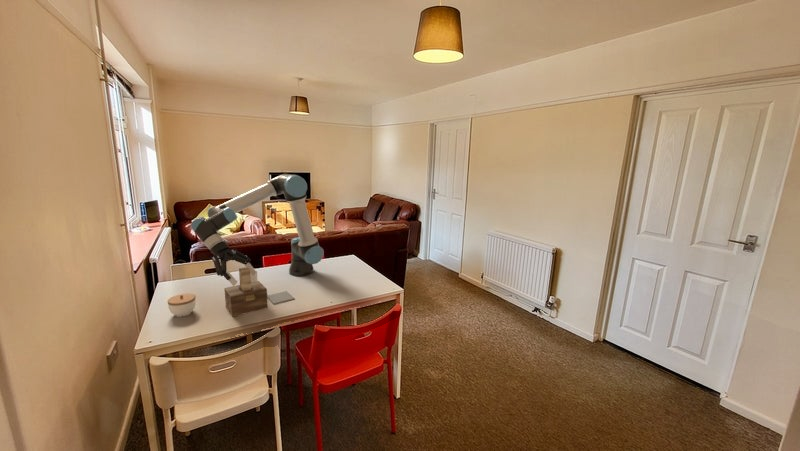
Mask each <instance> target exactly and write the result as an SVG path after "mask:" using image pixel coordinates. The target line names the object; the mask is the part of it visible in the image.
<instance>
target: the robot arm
mask: <svg viewBox="0 0 800 451" xmlns="http://www.w3.org/2000/svg"><path fill="white" fill-rule="evenodd" d="M307 191H308V183H307V182H306V180H305V178H303V177H302V176H300V175H298V174H290V173H282V174H279V175H278V176H275V177H273V178H271V179H269V180H267V181H266V182H265V184H262V185H260V186H258V187H256V188H254V189H252V190H249V191H247V192H245V193H243V194H239V195H238V196H237V197H234V198H232V199H230V200H228V201H226V202H224V203H221V204H218V205H214V206H213V205H212V206H211V207H209V208H208V209H207V213H206V214H207V216H208V217H207V218H206V217H204V216H199V217H197V218H195V219H194V220H192V222H191V223H190V226H189V227H190V229H192V231H193V232H194V234H195V235H196V236H197V237H198V238H199V239H200V240H201V242H202V243H203V244H204V245H205V246H206V248H207V249H209V250H210V253H211V254H213V257H211V260H212V262H213V264H214V269H215V272H216V275H217V276H218V277H219V276H220V277H224V279H226V281H228V282H229V283H230V284H231V285H232V286H236V284H237V283H238V281H237V280H236V278H235V277H234V276H233V274H232V273H230V271H228V270H227V269H228V268H227V263H228V262H229V261H235V262H237V263H240V264H243V265H244V268H245V267H248V268H249V269H250V273H251V274H252V275H253V276H254V275H255V274H256V273H257V274H258V271H257V269H256V268H254V266H253V265H252V264H251V260H252V259H251V258H250V257H249V256H247V255H245V254H243V253H242V252H241V251H239V250H238V249H237V248H236V247H234V248H232V249H230V246H229V244H228V243H227V242H226V241H225V240H224V238H222V236H221V235H220V234H219V232H218V231H220V230H222V229H223V228H225V227H227V226H228V225H230V224H232V223H233V222H235V221H236V220H237V219H238V216H237V213H239V212H241V211H244V210H245V209H248V208H249V207H252V206H254V205H256V204H258V203H261V202H263V201H265V200H267V199H269V198H271V197H277V196H279V195H282V194H283V195H284V196H283V197H284V198H285V202H287V203H289V207H290V210H291V213H292V217H293V220H294V225H295V228H296V232H297V235H298V236H297V237H293V238H291V243H290V246H291V247H290V248H291V262H290V265H289V270H288V274H289V275H291V276H294V277H304V276H309V275H311V274H313V273H315V272H314V266H313V265H316V264H318V263H320V262H321V261H322V259H323V258H324V253H325V252H324V249H323V247H321V246H320V243H319V239H318V238H317V237H315V234H314V231H313V227H312V222H311V218H310V216H309V215H310V214H309V212H308V207H307V203H306V199H307ZM255 269H256V270H255ZM256 271H257V272H256Z"/></svg>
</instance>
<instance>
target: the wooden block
mask: <svg viewBox="0 0 800 451" xmlns="http://www.w3.org/2000/svg"><path fill="white" fill-rule="evenodd" d="M238 274H239V275H238V276H239V285H240V290H241V292H242V291H246V290H251V275H250V269H249V268H248V267H245V266H244V267H239V268H238Z"/></svg>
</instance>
